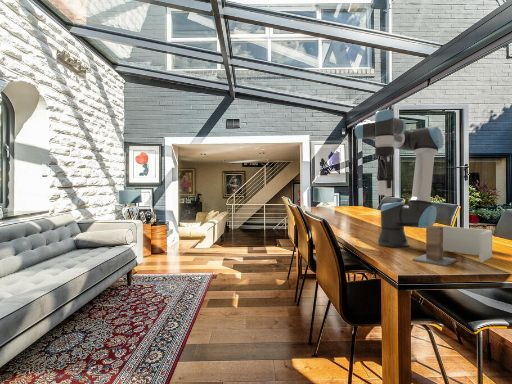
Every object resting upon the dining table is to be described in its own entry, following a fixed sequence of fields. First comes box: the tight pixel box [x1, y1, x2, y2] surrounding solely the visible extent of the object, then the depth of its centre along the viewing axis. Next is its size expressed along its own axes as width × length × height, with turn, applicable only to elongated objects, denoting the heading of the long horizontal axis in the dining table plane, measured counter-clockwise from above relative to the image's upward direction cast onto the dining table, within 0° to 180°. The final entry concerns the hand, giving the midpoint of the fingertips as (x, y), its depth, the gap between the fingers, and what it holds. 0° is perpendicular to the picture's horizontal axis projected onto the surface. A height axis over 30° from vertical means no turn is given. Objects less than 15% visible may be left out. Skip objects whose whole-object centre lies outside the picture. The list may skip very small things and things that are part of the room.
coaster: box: [411, 253, 457, 267], centre depth 140 cm, size 13×13×1 cm
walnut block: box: [425, 225, 444, 261], centre depth 140 cm, size 5×5×14 cm
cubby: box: [440, 225, 493, 263], centre depth 148 cm, size 14×22×12 cm, turn 40°
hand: (384, 195), depth 140 cm, fingers open, 13 cm apart
